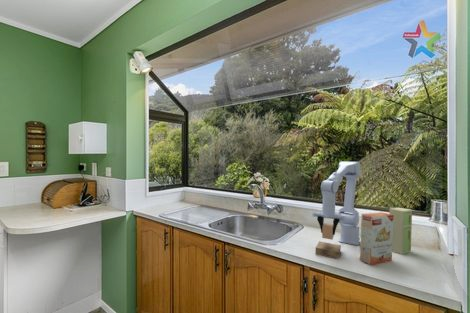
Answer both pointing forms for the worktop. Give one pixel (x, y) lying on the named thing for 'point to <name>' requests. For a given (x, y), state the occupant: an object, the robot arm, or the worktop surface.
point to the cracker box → (376, 238)
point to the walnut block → (328, 249)
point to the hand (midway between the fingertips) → (328, 233)
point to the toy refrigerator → (401, 230)
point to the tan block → (327, 231)
